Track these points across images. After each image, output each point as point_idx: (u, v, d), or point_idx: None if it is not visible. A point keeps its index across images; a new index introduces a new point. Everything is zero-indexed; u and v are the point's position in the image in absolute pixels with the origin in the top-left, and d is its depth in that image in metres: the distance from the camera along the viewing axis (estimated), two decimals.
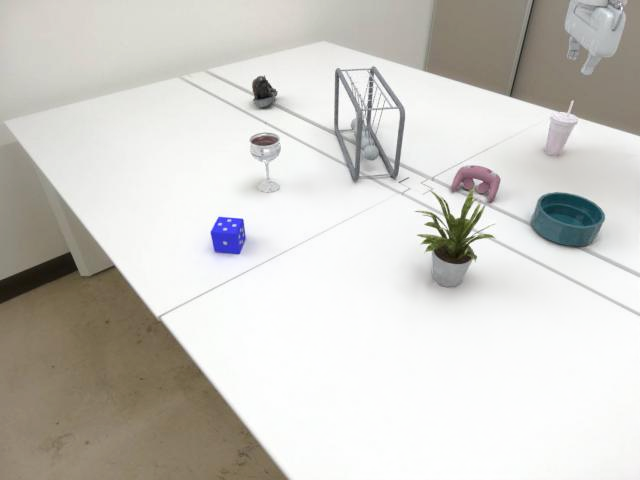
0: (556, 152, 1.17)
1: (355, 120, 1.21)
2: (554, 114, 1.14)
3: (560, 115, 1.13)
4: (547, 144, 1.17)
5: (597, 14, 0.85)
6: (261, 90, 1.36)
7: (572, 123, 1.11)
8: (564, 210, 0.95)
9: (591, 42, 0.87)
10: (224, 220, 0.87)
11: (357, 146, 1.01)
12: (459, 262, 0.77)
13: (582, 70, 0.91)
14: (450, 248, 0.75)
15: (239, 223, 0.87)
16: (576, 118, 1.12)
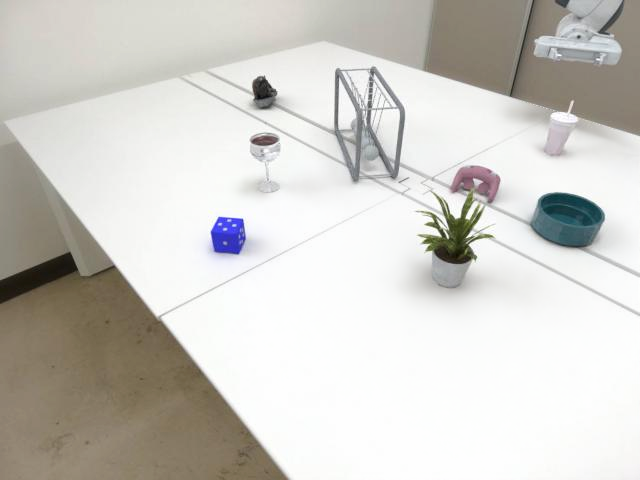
0: (556, 152, 1.17)
1: (355, 120, 1.21)
2: (554, 114, 1.14)
3: (560, 115, 1.13)
4: (547, 144, 1.17)
5: None
6: (261, 90, 1.36)
7: (572, 123, 1.11)
8: (564, 210, 0.95)
9: None
10: (224, 220, 0.87)
11: (357, 146, 1.01)
12: (459, 262, 0.77)
13: None
14: (450, 248, 0.75)
15: (239, 223, 0.87)
16: (576, 118, 1.12)
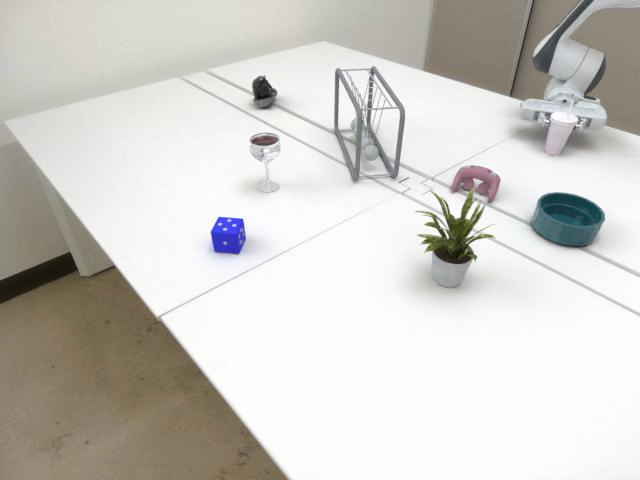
0: (556, 152, 1.17)
1: (355, 120, 1.21)
2: (554, 114, 1.14)
3: (560, 115, 1.13)
4: (547, 144, 1.17)
5: None
6: (261, 90, 1.36)
7: (572, 123, 1.11)
8: (564, 210, 0.95)
9: None
10: (224, 220, 0.87)
11: (357, 146, 1.01)
12: (459, 262, 0.77)
13: None
14: (450, 248, 0.75)
15: (239, 223, 0.87)
16: (576, 118, 1.12)
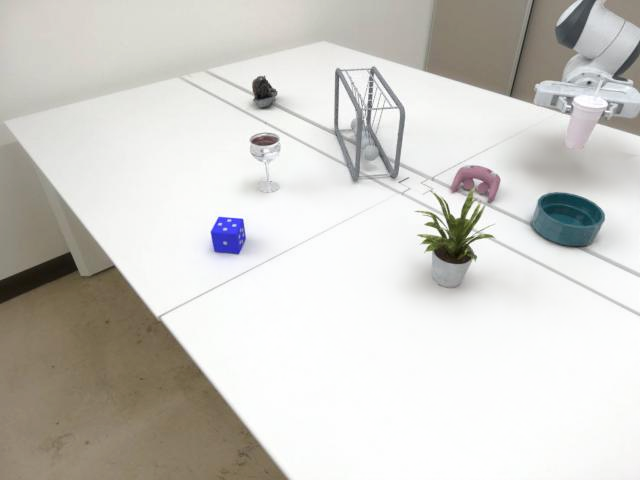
0: (580, 144, 0.95)
1: (355, 120, 1.21)
2: (577, 98, 0.93)
3: (585, 99, 0.92)
4: (568, 135, 0.96)
5: None
6: (261, 90, 1.36)
7: (600, 108, 0.89)
8: (564, 210, 0.95)
9: None
10: (224, 220, 0.87)
11: (357, 146, 1.01)
12: (459, 262, 0.77)
13: None
14: (450, 248, 0.75)
15: (239, 223, 0.87)
16: (605, 102, 0.91)
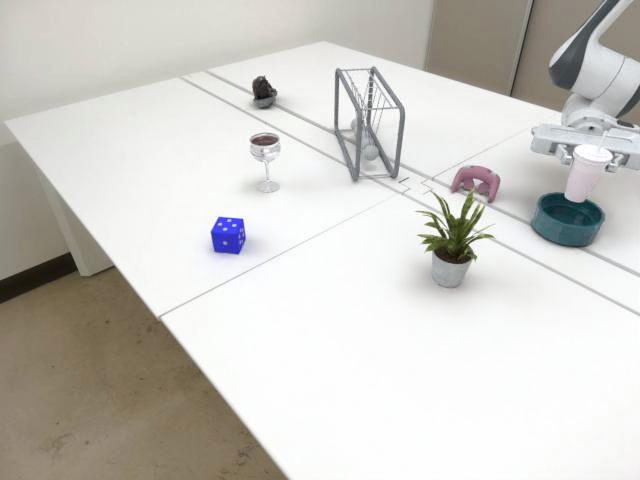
0: (581, 198, 0.86)
1: (355, 120, 1.21)
2: (579, 148, 0.84)
3: (587, 150, 0.83)
4: (568, 187, 0.87)
5: None
6: (261, 90, 1.36)
7: (605, 162, 0.80)
8: (564, 210, 0.95)
9: None
10: (224, 220, 0.87)
11: (357, 146, 1.01)
12: (459, 262, 0.77)
13: None
14: (450, 248, 0.75)
15: (239, 223, 0.87)
16: (609, 154, 0.82)
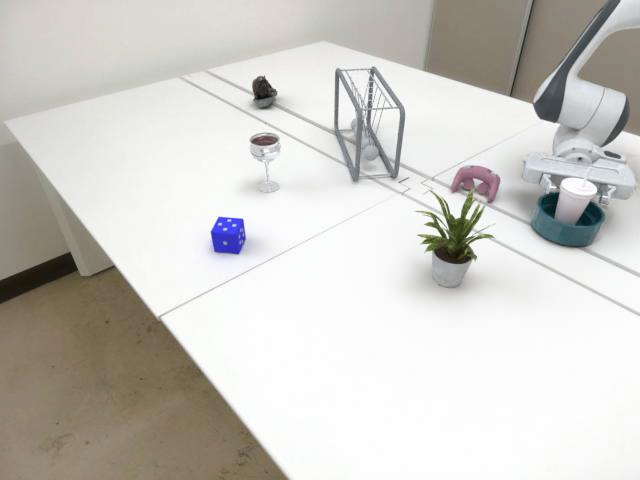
0: None
1: (355, 120, 1.21)
2: (565, 181, 0.88)
3: (573, 183, 0.87)
4: (556, 217, 0.91)
5: None
6: (261, 90, 1.36)
7: (589, 196, 0.85)
8: None
9: None
10: (224, 220, 0.87)
11: (357, 146, 1.01)
12: (459, 262, 0.77)
13: None
14: (450, 248, 0.75)
15: (239, 223, 0.87)
16: (594, 188, 0.86)
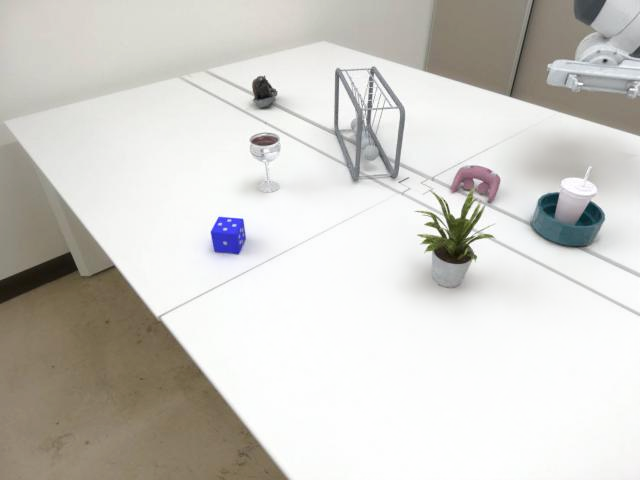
0: None
1: (355, 120, 1.21)
2: (565, 181, 0.88)
3: (573, 183, 0.87)
4: (556, 217, 0.91)
5: None
6: (261, 90, 1.36)
7: (589, 196, 0.85)
8: None
9: None
10: (224, 220, 0.87)
11: (357, 146, 1.01)
12: (459, 262, 0.77)
13: None
14: (450, 248, 0.75)
15: (239, 223, 0.87)
16: (594, 188, 0.86)
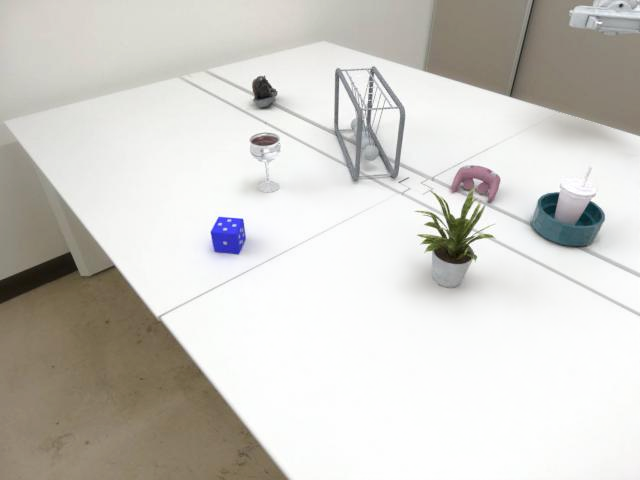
0: None
1: (355, 120, 1.21)
2: (565, 181, 0.88)
3: (573, 183, 0.87)
4: (556, 217, 0.91)
5: None
6: (261, 90, 1.36)
7: (589, 196, 0.85)
8: None
9: None
10: (224, 220, 0.87)
11: (357, 146, 1.01)
12: (459, 262, 0.77)
13: None
14: (450, 248, 0.75)
15: (239, 223, 0.87)
16: (594, 188, 0.86)
